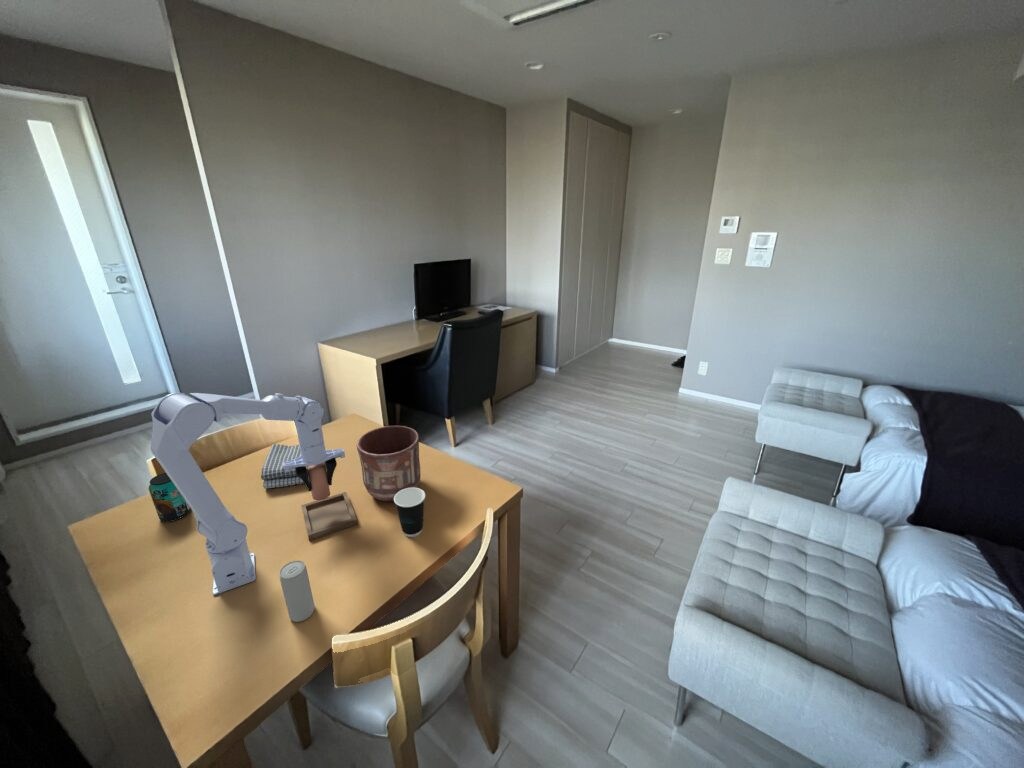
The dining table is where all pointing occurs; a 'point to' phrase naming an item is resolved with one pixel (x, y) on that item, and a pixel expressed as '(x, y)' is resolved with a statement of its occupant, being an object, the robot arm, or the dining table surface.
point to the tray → (328, 515)
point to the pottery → (389, 460)
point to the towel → (280, 467)
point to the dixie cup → (410, 510)
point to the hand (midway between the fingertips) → (319, 486)
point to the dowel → (318, 481)
